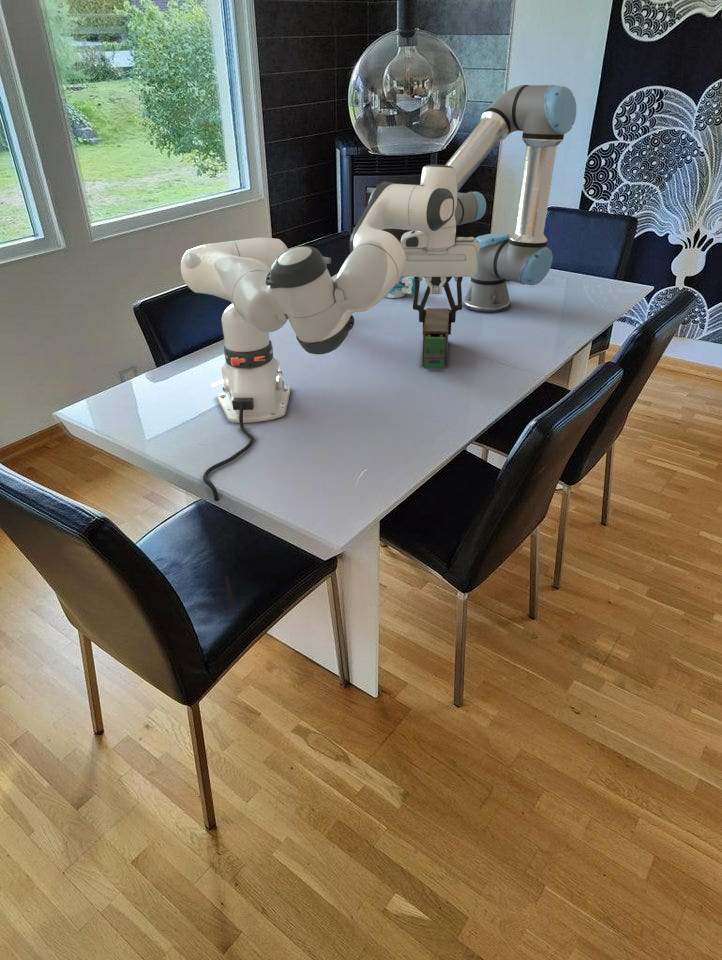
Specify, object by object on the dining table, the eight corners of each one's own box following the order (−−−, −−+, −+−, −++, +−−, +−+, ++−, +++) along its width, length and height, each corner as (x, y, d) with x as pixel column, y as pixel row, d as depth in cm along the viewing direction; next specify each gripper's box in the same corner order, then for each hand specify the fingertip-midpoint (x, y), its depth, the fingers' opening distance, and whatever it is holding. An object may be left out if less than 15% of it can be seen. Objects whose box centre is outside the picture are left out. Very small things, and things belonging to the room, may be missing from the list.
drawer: (443, 376, 179) (444, 345, 174) (423, 375, 179) (423, 345, 175) (445, 344, 197) (446, 315, 193) (427, 343, 198) (427, 315, 194)
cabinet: (446, 367, 186) (447, 331, 180) (422, 366, 187) (423, 331, 181) (448, 342, 201) (449, 308, 196) (425, 341, 202) (426, 308, 196)
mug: (390, 289, 246) (390, 266, 241) (419, 294, 240) (419, 270, 235) (378, 296, 240) (378, 272, 235) (407, 300, 234) (407, 277, 230)
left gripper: (480, 233, 164) (477, 289, 171) (396, 234, 166) (397, 289, 174) (480, 239, 158) (477, 297, 166) (394, 240, 161) (395, 297, 168)
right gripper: (475, 248, 185) (470, 328, 197) (404, 248, 187) (404, 327, 200) (475, 255, 179) (470, 338, 191) (402, 255, 181) (402, 337, 194)
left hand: (435, 293), depth 170 cm, fingers closed
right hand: (436, 332), depth 195 cm, fingers closed on cabinet, 7 cm apart
